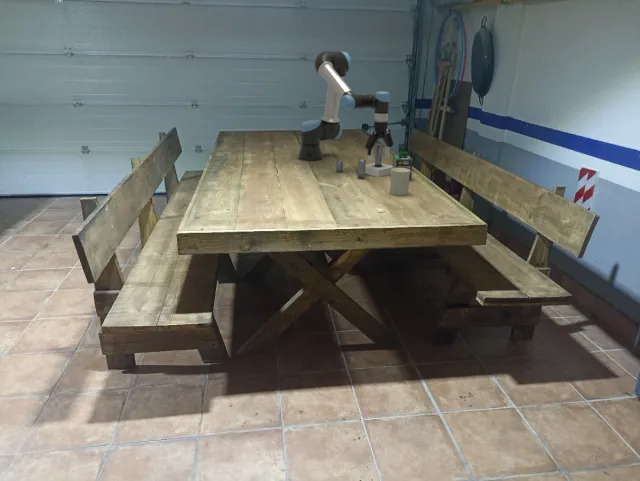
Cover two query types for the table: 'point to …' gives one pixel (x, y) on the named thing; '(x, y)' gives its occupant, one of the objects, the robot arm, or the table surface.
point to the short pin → (339, 166)
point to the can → (399, 181)
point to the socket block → (378, 170)
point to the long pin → (378, 155)
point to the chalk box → (403, 162)
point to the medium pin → (361, 168)
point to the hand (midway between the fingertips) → (378, 159)
